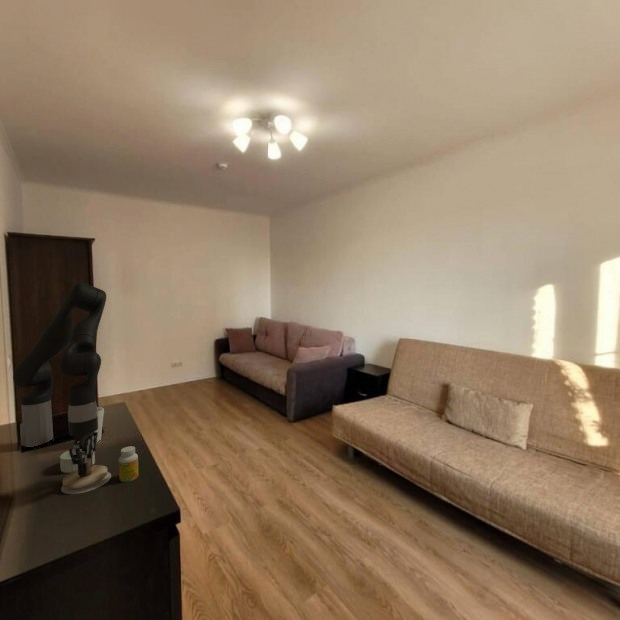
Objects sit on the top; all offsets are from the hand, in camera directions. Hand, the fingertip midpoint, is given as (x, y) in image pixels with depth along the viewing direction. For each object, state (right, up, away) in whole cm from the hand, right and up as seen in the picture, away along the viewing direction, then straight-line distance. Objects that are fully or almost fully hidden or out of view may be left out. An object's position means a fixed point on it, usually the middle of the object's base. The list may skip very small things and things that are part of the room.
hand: (85, 471), depth 105 cm
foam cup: (-18, -3, +31) cm, 36 cm away
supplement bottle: (+12, -4, +2) cm, 13 cm away
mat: (0, -4, 0) cm, 4 cm away
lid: (0, -2, 0) cm, 2 cm away
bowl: (-10, -4, +11) cm, 15 cm away
